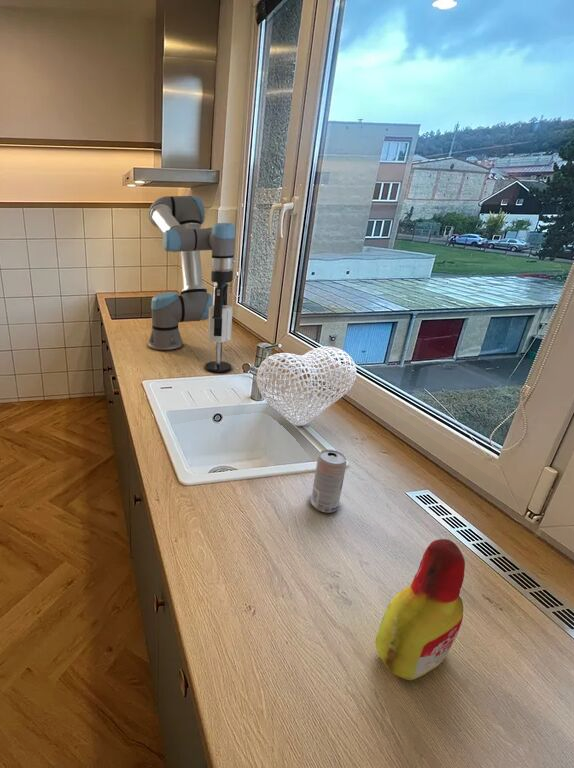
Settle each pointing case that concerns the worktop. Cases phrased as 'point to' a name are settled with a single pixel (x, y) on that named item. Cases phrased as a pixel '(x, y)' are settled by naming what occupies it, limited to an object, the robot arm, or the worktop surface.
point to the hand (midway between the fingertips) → (219, 332)
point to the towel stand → (218, 362)
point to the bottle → (424, 614)
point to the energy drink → (328, 480)
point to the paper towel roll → (225, 324)
